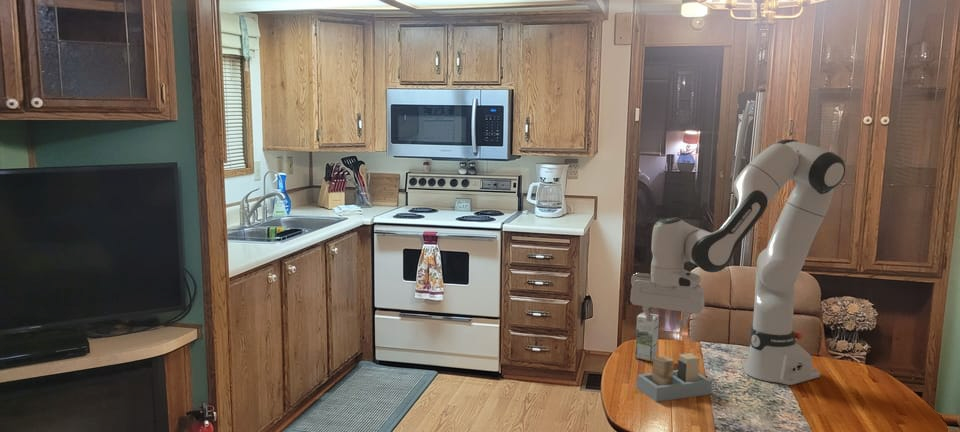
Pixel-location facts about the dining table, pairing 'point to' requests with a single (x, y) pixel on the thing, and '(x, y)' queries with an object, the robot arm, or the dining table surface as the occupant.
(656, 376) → the block
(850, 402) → the dining table surface
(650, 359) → the syrup box
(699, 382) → the divided grey tray
